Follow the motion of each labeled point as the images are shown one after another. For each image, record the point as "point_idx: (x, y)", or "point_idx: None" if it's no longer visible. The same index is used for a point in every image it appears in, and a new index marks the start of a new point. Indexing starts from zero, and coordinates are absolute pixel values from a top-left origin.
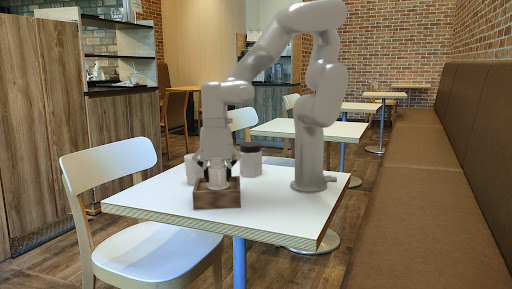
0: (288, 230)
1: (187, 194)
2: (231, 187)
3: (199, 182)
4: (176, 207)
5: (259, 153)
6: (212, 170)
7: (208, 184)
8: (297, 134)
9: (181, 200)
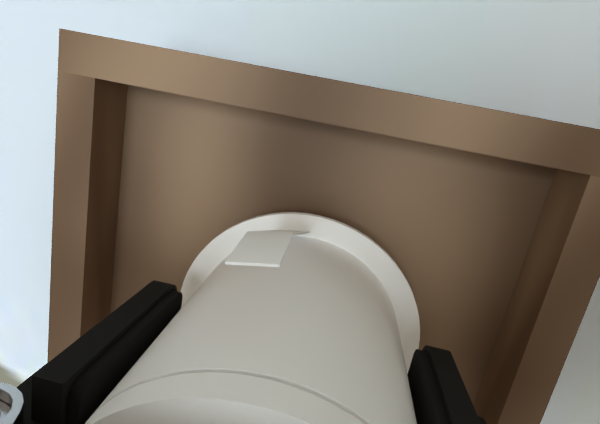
0: None
1: None
2: (432, 345)
3: (108, 154)
4: (29, 301)
5: None
6: None
7: (196, 283)
8: None
9: (47, 187)
